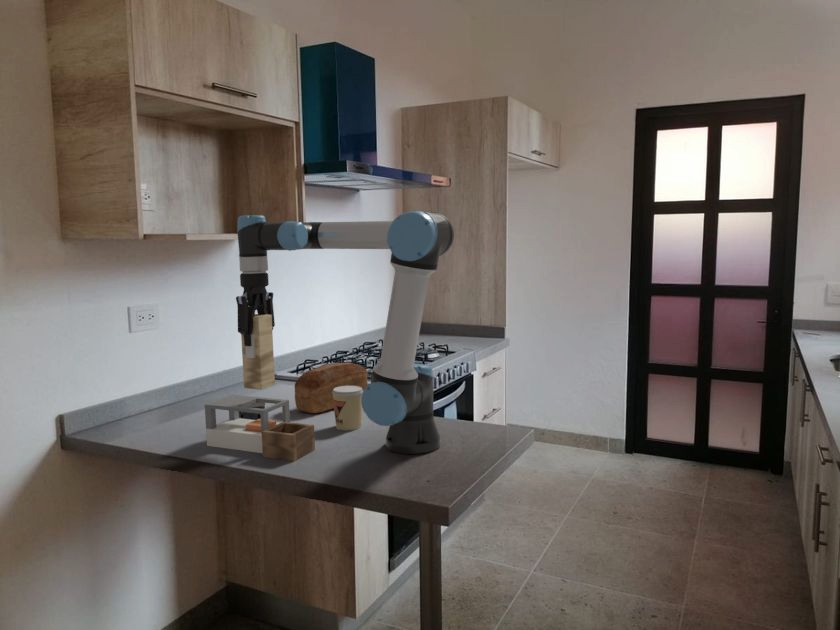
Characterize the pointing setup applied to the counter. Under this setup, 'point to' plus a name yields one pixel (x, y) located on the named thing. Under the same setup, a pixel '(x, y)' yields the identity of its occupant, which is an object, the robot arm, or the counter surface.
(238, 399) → the grey frame
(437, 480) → the counter surface
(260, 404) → the electrical switch
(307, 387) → the bread
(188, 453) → the counter surface
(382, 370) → the robot arm
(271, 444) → the holder
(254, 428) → the orange cube
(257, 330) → the tan wooden block
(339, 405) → the coffee cup
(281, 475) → the counter surface
